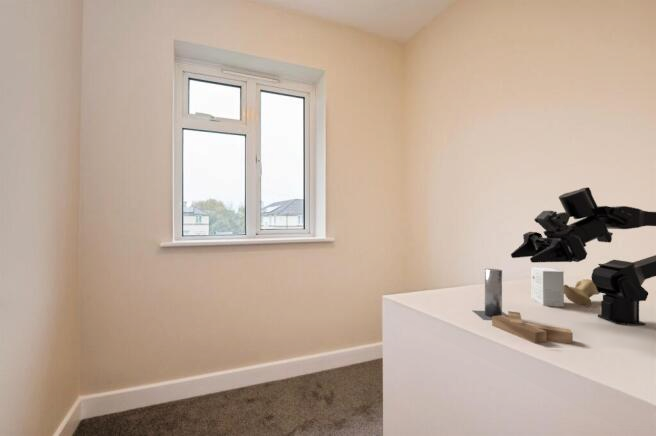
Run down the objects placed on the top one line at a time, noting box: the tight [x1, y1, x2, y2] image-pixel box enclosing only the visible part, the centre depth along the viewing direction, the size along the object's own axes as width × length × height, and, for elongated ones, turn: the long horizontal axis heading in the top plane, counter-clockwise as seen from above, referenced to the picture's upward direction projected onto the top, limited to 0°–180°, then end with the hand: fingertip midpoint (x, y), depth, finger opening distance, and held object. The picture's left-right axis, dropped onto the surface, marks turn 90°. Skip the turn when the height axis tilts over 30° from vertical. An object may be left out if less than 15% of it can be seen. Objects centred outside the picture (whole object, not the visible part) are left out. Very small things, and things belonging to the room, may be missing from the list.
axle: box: [484, 268, 503, 317], centre depth 81 cm, size 4×4×12 cm
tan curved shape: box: [564, 278, 600, 307], centre depth 96 cm, size 8×7×12 cm
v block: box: [491, 310, 574, 345], centre depth 69 cm, size 9×15×2 cm, turn 17°
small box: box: [530, 266, 565, 308], centre depth 95 cm, size 8×6×10 cm
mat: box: [471, 309, 508, 321], centre depth 81 cm, size 8×8×1 cm
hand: (520, 258), depth 80 cm, fingers open, 9 cm apart
